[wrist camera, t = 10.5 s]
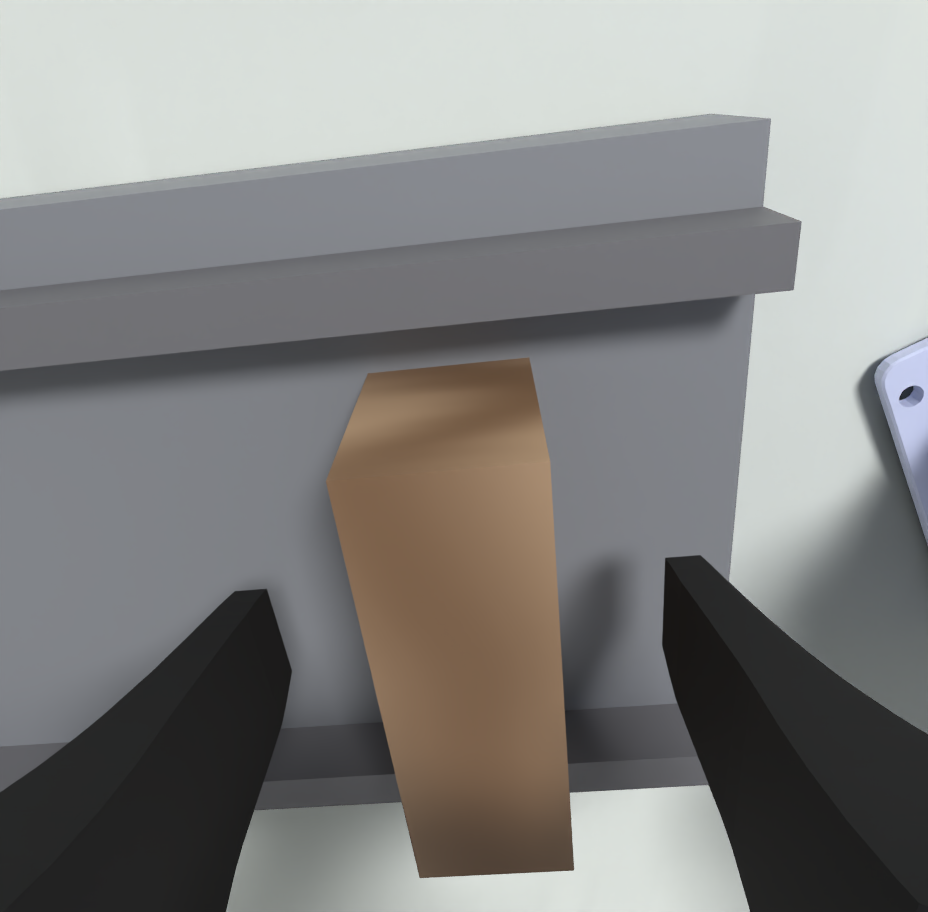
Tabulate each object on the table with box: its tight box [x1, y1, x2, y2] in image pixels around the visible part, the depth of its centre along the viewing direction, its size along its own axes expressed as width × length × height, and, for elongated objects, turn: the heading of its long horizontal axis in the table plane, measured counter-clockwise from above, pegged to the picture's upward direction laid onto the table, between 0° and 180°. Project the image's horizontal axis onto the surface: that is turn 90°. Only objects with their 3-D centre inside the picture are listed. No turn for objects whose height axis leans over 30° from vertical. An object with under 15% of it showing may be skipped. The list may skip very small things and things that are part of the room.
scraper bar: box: [326, 357, 574, 878], centre depth 13 cm, size 3×9×4 cm, turn 7°
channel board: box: [0, 114, 801, 810], centre depth 15 cm, size 20×15×4 cm
